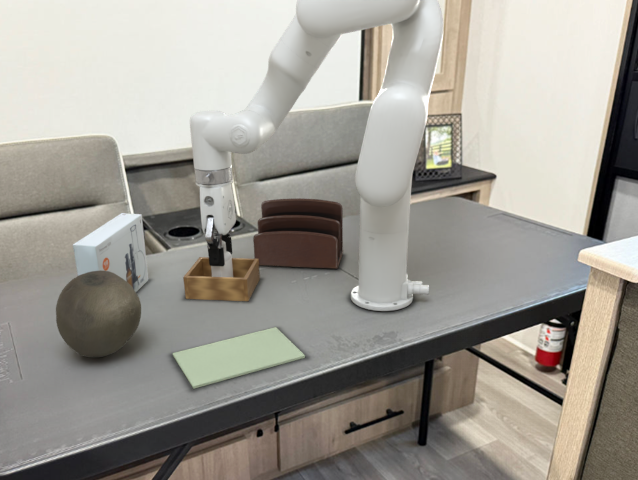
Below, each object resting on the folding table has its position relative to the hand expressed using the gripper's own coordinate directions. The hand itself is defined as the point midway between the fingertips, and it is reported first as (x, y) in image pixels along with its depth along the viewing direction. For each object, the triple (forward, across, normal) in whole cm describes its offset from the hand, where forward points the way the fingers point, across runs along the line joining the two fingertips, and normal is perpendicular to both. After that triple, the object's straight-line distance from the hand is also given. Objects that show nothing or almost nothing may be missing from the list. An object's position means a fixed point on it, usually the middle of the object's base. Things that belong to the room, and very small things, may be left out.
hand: (221, 259), depth 128 cm
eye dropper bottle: (+7, 0, 0) cm, 7 cm away
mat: (+7, -28, -10) cm, 31 cm away
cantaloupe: (+7, -29, +14) cm, 33 cm away
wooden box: (+7, 0, 0) cm, 7 cm away
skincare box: (+7, -7, +21) cm, 23 cm away
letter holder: (+7, +18, -14) cm, 24 cm away
